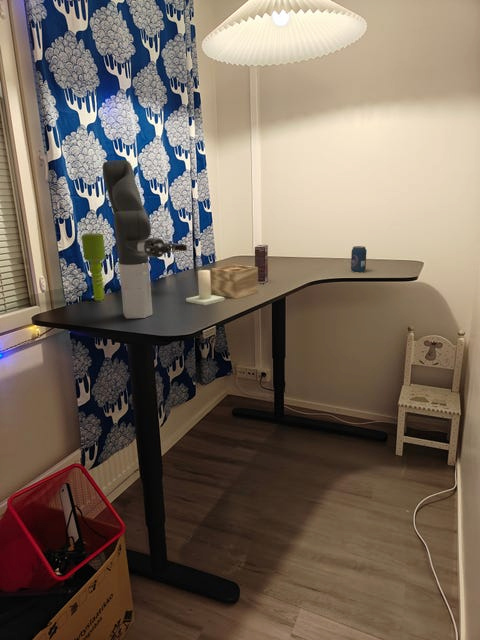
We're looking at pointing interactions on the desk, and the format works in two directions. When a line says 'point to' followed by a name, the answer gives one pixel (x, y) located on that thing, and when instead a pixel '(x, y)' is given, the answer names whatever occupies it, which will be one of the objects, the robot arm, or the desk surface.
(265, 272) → the supplement box
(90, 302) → the desk surface
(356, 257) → the soda can
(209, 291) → the lid
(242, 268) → the box
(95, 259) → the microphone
